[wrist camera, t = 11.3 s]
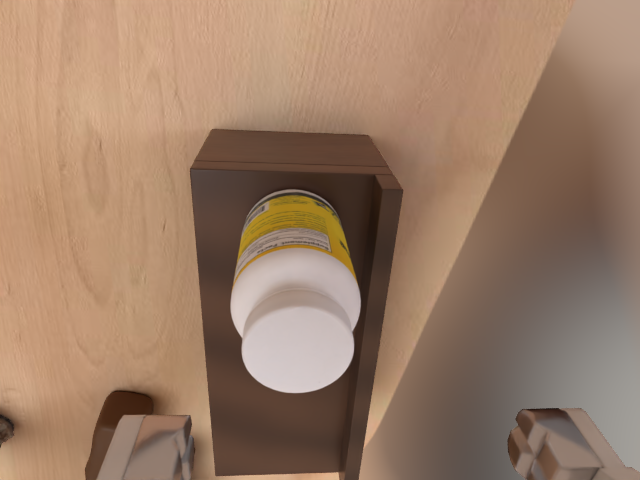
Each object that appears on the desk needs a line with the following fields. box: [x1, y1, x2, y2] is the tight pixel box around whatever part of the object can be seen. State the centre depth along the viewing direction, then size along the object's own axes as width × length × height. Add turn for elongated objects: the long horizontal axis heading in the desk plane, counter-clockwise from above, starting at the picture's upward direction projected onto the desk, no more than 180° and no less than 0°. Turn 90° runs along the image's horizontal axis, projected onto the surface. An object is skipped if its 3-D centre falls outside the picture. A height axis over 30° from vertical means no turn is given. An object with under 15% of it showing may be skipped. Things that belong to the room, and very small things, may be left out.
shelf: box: [190, 129, 403, 480], centre depth 36 cm, size 28×12×11 cm, turn 177°
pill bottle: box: [231, 189, 361, 393], centre depth 23 cm, size 6×6×11 cm
